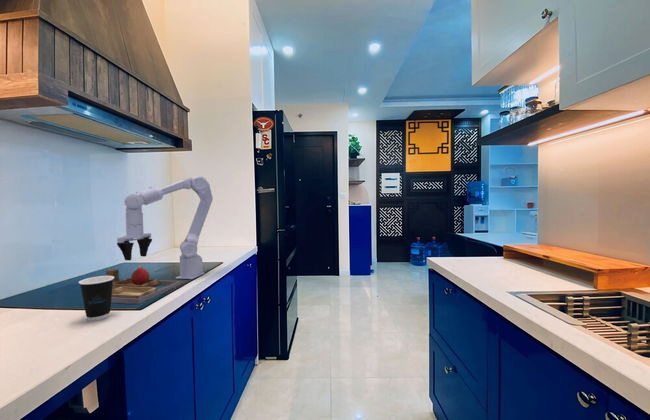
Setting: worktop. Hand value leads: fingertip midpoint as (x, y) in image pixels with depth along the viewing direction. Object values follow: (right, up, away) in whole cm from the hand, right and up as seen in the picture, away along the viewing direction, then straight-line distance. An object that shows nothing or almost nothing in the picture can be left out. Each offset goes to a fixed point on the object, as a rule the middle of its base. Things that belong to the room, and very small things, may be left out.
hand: (135, 258), depth 114 cm
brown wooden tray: (+9, -11, -11) cm, 18 cm away
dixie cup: (+11, -12, -33) cm, 36 cm away
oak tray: (+7, -11, -16) cm, 20 cm away
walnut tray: (+1, -10, -5) cm, 12 cm away
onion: (+5, -10, -6) cm, 13 cm away
